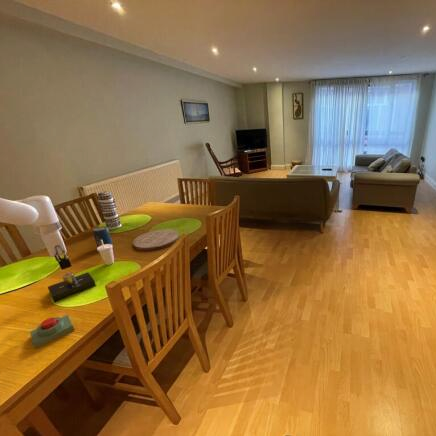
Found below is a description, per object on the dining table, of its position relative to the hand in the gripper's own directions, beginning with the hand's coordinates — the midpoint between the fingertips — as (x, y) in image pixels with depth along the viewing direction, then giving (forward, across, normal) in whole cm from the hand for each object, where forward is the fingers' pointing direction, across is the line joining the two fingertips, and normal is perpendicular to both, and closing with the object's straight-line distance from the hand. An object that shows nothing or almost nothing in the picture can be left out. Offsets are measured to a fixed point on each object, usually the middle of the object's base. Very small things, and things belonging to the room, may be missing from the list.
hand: (64, 263), depth 101 cm
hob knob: (+10, 0, 0) cm, 10 cm away
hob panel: (+13, 0, 0) cm, 13 cm away
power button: (+9, +25, -10) cm, 29 cm away
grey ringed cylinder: (+14, -64, +34) cm, 73 cm away
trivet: (+14, -19, +44) cm, 49 cm away
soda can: (+14, -34, +20) cm, 42 cm away
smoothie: (+13, -12, +16) cm, 24 cm away
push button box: (+13, +25, -10) cm, 30 cm away
